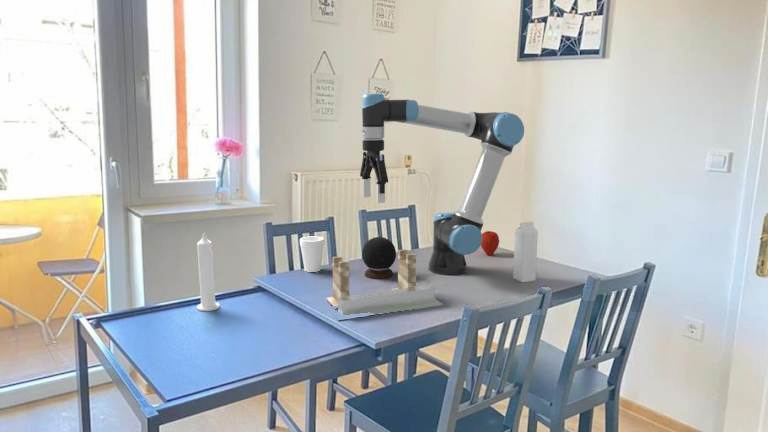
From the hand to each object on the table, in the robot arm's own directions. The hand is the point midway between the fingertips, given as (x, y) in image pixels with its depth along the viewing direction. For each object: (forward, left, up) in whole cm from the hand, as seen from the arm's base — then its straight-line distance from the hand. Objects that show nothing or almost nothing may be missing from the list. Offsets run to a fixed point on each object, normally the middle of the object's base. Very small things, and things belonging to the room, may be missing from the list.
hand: (373, 199), depth 202 cm
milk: (-55, +15, -32) cm, 65 cm away
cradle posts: (+5, +13, -32) cm, 35 cm away
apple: (-63, -21, -32) cm, 74 cm away
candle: (+58, 0, -32) cm, 66 cm away
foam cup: (+15, -28, -32) cm, 45 cm away
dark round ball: (-7, -12, -32) cm, 35 cm away
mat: (+5, +24, -32) cm, 40 cm away
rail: (+5, +24, -31) cm, 40 cm away
